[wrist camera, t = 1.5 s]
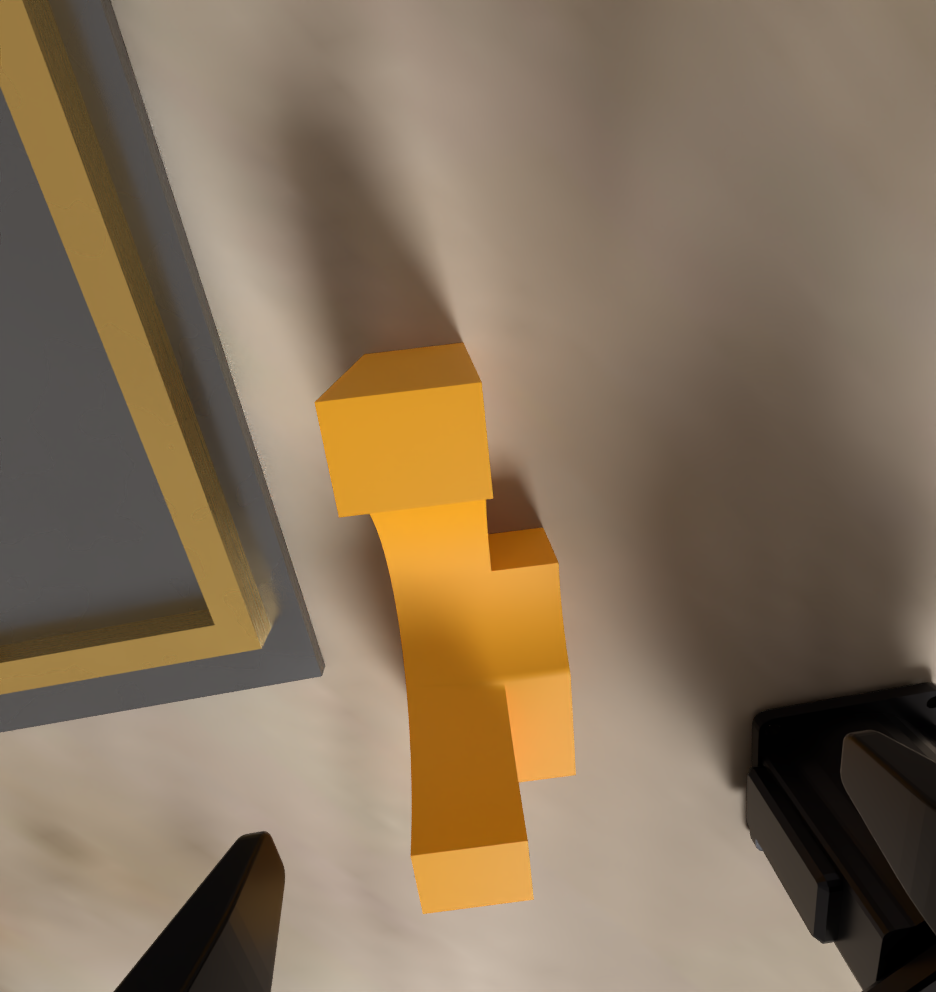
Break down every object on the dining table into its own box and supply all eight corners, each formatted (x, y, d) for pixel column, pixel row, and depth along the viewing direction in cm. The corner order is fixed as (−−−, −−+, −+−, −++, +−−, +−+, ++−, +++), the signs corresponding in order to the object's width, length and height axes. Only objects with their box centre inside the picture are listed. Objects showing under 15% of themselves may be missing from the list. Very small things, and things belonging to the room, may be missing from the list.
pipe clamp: (553, 697, 19) (608, 889, 13) (427, 712, 19) (423, 913, 13) (528, 334, 15) (594, 368, 9) (365, 353, 15) (314, 402, 9)
